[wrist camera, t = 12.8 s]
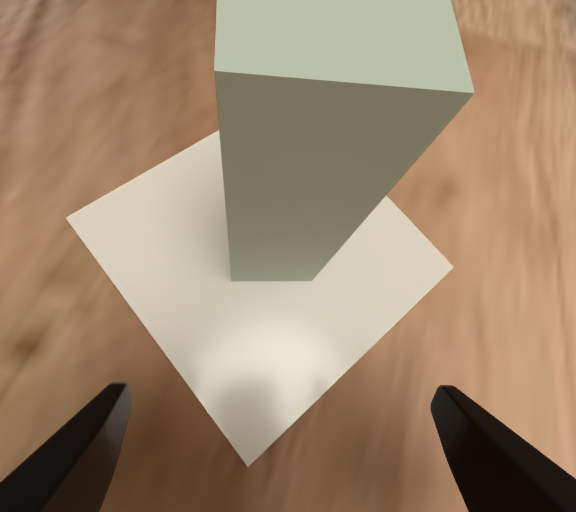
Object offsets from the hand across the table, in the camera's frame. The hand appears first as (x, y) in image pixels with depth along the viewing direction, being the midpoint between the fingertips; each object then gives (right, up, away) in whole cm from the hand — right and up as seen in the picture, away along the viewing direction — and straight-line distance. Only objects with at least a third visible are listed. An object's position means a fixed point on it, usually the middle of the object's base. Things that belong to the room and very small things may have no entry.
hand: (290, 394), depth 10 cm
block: (-1, +5, +10) cm, 11 cm away
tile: (-1, +4, +11) cm, 12 cm away
